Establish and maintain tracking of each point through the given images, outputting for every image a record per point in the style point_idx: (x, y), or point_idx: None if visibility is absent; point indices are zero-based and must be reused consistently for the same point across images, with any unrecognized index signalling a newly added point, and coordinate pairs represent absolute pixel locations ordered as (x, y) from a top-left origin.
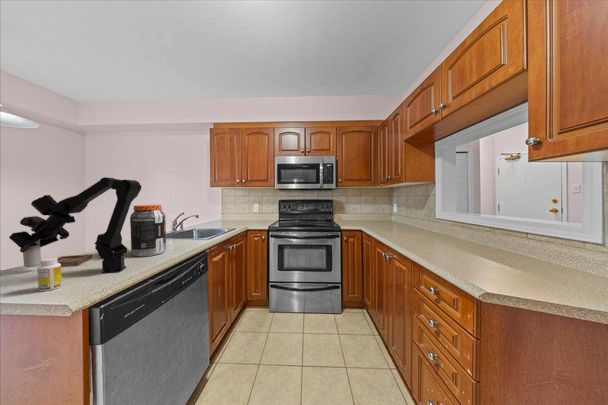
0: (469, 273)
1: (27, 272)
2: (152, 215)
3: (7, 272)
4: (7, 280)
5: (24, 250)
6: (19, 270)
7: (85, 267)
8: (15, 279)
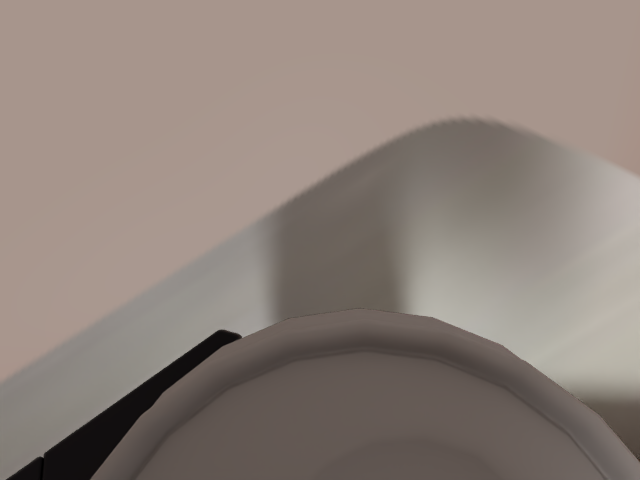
0: None
1: None
2: None
3: (363, 168)
4: (45, 368)
5: None
6: (412, 237)
7: None
8: (52, 427)
